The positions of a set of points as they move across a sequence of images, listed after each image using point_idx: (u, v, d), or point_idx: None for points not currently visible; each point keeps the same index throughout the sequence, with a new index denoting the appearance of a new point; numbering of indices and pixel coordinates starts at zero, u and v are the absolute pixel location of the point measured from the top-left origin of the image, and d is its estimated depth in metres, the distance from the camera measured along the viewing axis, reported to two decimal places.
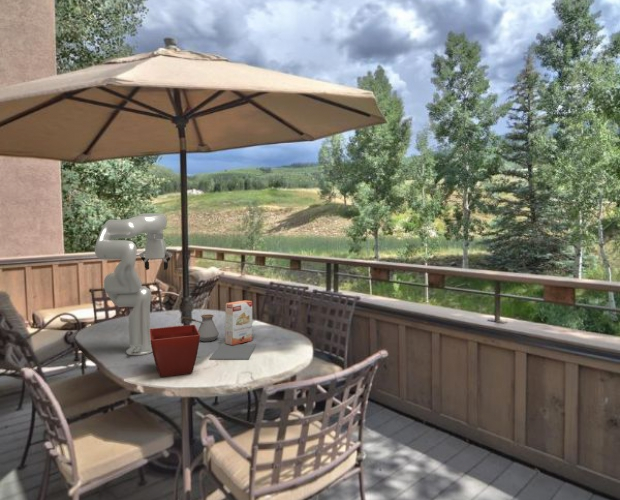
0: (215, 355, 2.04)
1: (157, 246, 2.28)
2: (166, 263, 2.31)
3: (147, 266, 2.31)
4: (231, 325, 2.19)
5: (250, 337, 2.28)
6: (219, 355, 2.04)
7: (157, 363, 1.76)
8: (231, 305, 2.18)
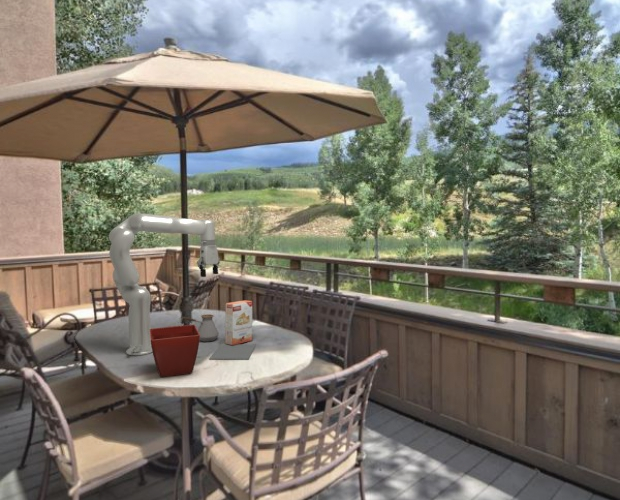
0: (215, 355, 2.04)
1: (214, 251, 2.32)
2: None
3: None
4: (231, 325, 2.19)
5: (250, 337, 2.28)
6: (219, 355, 2.04)
7: (157, 363, 1.76)
8: (231, 305, 2.18)
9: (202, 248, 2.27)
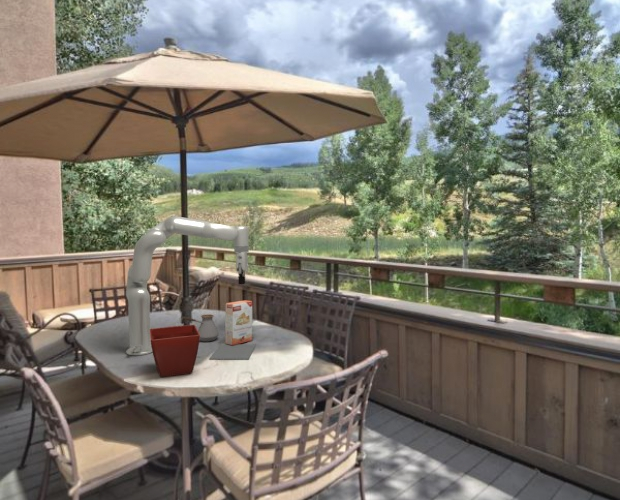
0: (215, 355, 2.04)
1: (247, 257, 2.34)
2: None
3: None
4: (231, 325, 2.19)
5: (250, 337, 2.28)
6: (219, 355, 2.04)
7: (157, 363, 1.76)
8: (231, 305, 2.18)
9: (240, 254, 2.27)
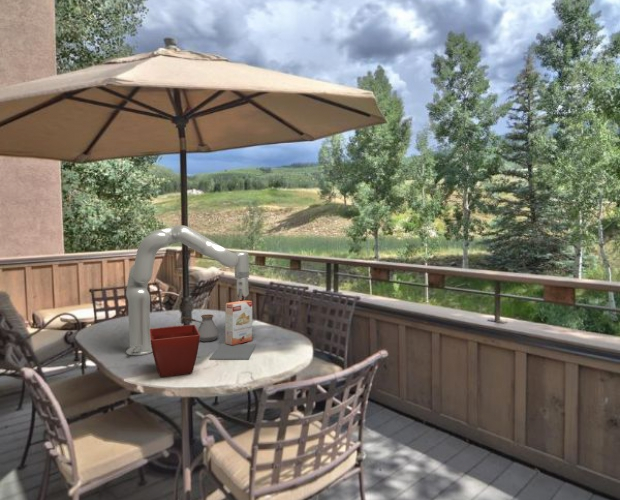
0: (215, 355, 2.04)
1: (247, 283, 2.35)
2: None
3: None
4: (231, 325, 2.19)
5: (250, 337, 2.28)
6: (219, 355, 2.04)
7: (157, 363, 1.76)
8: (231, 305, 2.18)
9: (240, 280, 2.28)
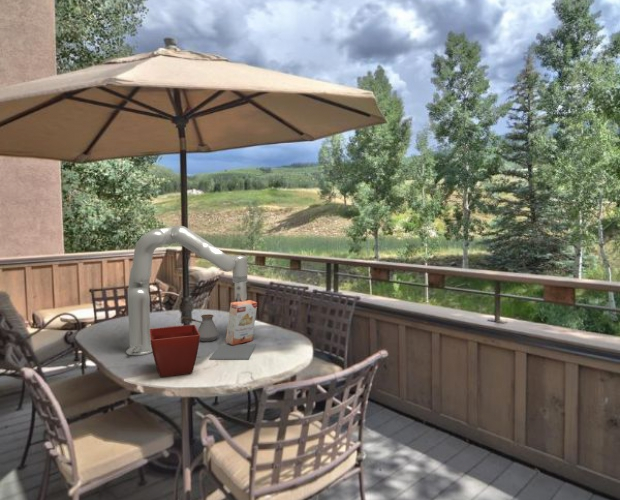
0: (215, 355, 2.04)
1: None
2: None
3: None
4: (234, 325, 2.18)
5: (250, 337, 2.28)
6: (219, 355, 2.04)
7: (157, 363, 1.76)
8: (236, 306, 2.17)
9: (238, 285, 2.23)
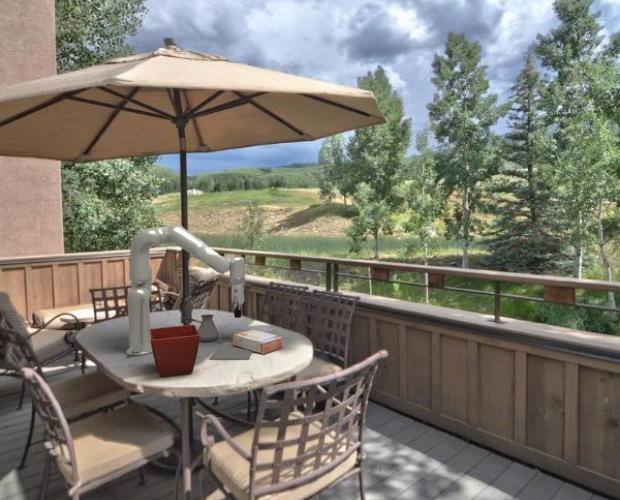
0: (215, 355, 2.04)
1: (243, 289, 2.22)
2: None
3: None
4: (247, 347, 2.12)
5: None
6: (219, 355, 2.04)
7: (157, 363, 1.76)
8: (263, 351, 2.06)
9: (235, 287, 2.16)
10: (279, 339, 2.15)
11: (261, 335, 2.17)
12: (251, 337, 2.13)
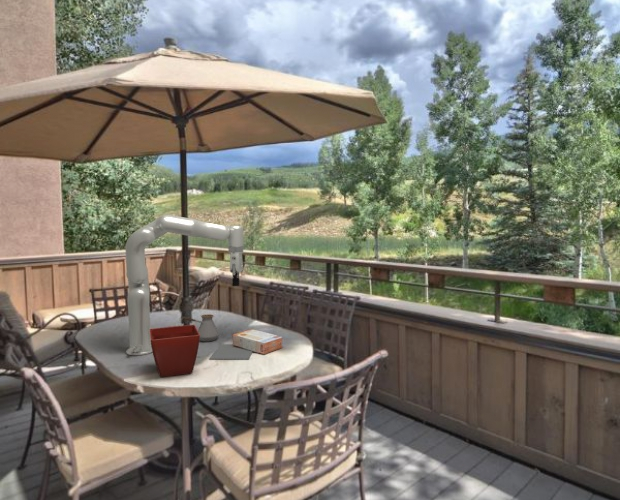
0: (215, 355, 2.04)
1: (241, 258, 2.25)
2: None
3: None
4: (247, 347, 2.12)
5: None
6: (219, 355, 2.04)
7: (157, 363, 1.76)
8: (263, 351, 2.06)
9: (234, 255, 2.18)
10: (279, 339, 2.15)
11: (261, 335, 2.17)
12: (251, 337, 2.13)
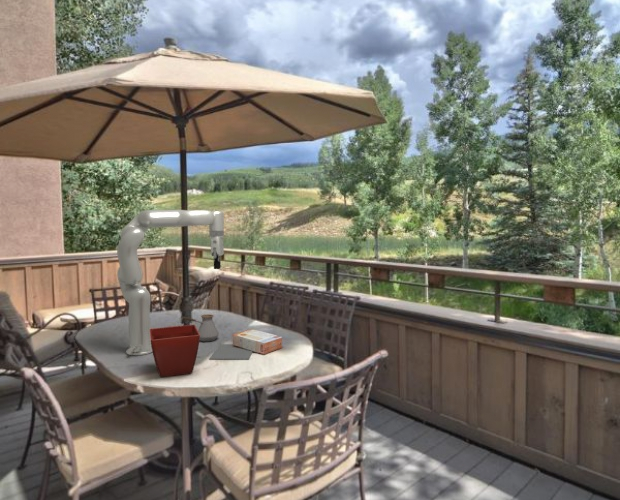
0: (215, 355, 2.04)
1: (222, 242, 2.33)
2: None
3: None
4: (247, 347, 2.12)
5: None
6: (219, 355, 2.04)
7: (157, 363, 1.76)
8: (263, 351, 2.06)
9: (214, 239, 2.27)
10: (279, 339, 2.15)
11: (261, 335, 2.17)
12: (251, 337, 2.13)
